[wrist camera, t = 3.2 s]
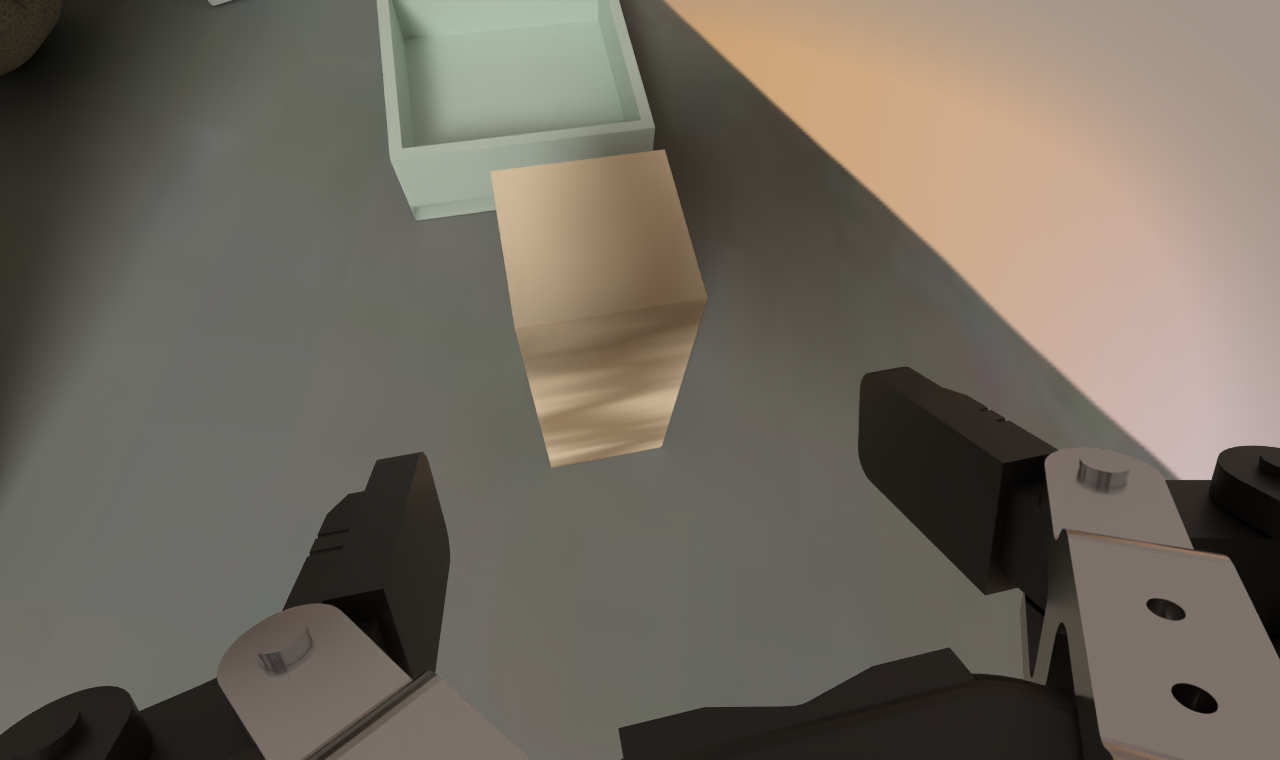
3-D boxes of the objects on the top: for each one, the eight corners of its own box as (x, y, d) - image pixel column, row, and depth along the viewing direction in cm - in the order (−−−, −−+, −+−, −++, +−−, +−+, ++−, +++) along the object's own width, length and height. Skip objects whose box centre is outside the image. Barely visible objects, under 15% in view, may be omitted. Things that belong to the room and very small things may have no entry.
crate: (416, 220, 30) (390, 159, 26) (399, 49, 34) (374, -25, 30) (648, 189, 31) (654, 127, 27) (605, 29, 35) (606, -44, 31)
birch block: (551, 468, 25) (514, 328, 14) (534, 366, 27) (490, 171, 16) (661, 446, 26) (707, 298, 15) (638, 348, 28) (664, 149, 17)
